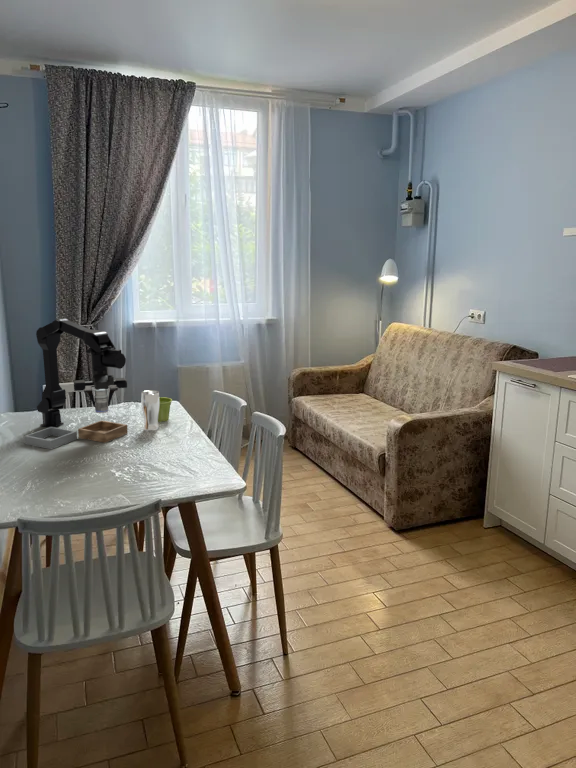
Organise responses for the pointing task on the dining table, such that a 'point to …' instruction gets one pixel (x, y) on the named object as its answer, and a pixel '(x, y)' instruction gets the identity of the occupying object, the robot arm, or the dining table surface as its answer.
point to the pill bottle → (101, 401)
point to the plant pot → (164, 409)
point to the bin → (62, 434)
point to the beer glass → (150, 409)
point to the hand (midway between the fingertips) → (101, 406)
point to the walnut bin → (102, 431)
